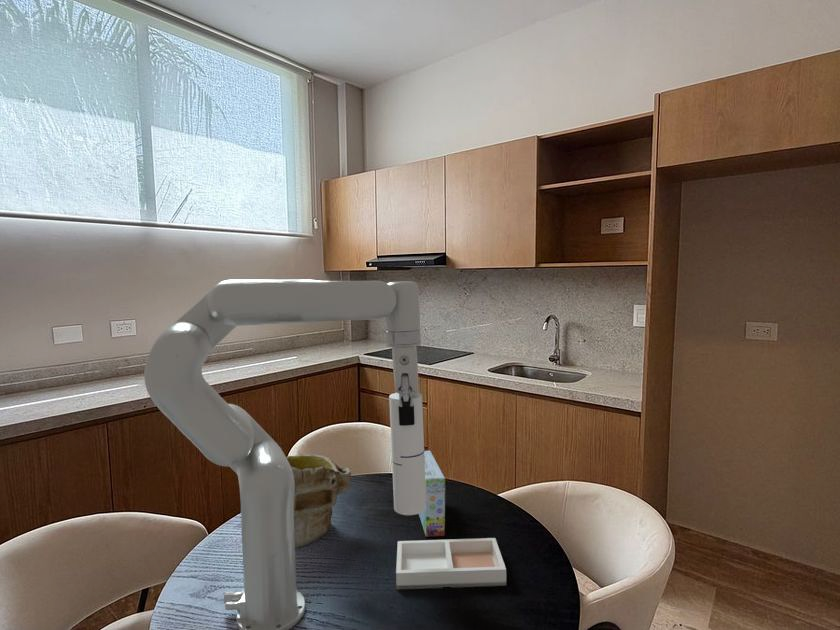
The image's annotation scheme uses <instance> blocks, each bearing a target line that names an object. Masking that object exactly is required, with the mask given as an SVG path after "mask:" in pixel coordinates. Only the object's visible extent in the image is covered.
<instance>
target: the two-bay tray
mask: <svg viewBox="0 0 840 630" xmlns="http://www.w3.org/2000/svg"><path fill="white" fill-rule="evenodd" d="M396 549H397V550H396V567H395V575H396V577H395V579H396V581H395V583H396V590H417V589H418V590H419V589H443V587H451V588H473V587H474V588H475V587H479V588H480V587H500V586H503V587H505V586H507V568H506V565H505V562H504V559H503V556H502V553H501V550H500V548H499V545H498V541H497V539H496V537H486V538H485V537H482V538H481V537H480V538H458V539H457V538H455V539H452V538H451V539H427V540H426V539H424V540H397V548H396Z"/></svg>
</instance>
